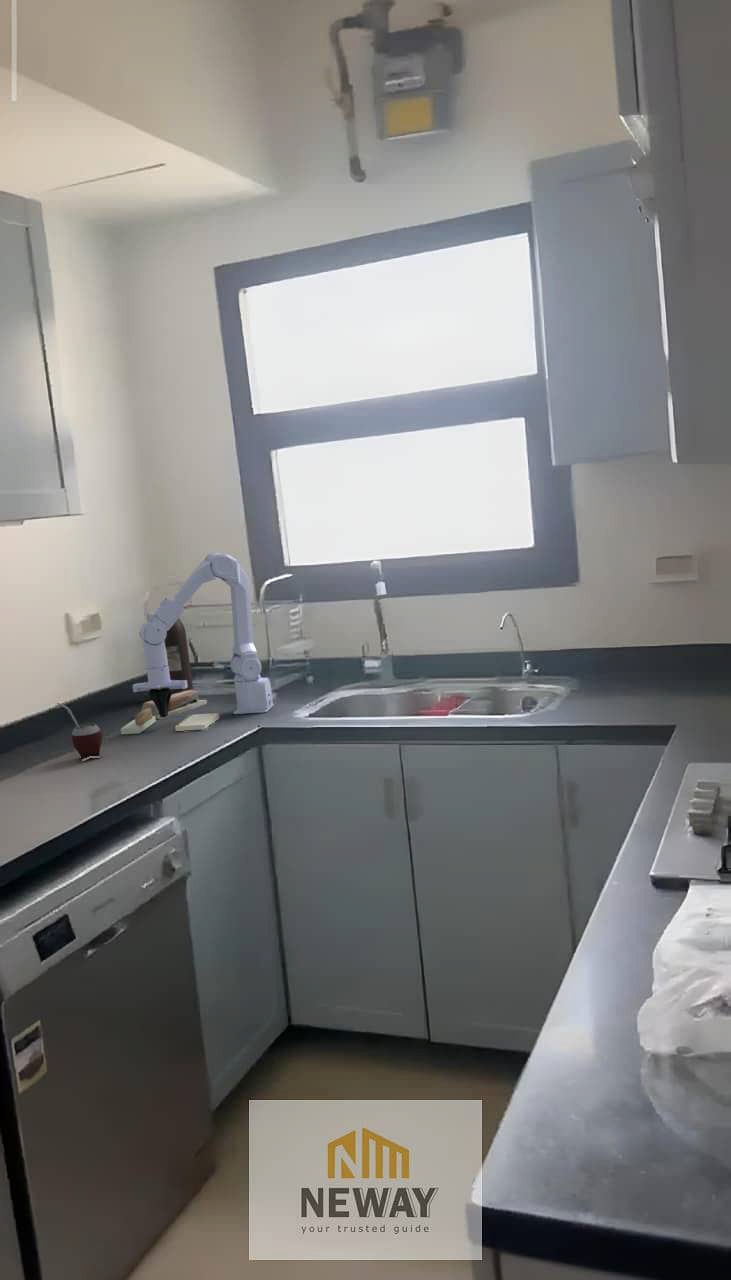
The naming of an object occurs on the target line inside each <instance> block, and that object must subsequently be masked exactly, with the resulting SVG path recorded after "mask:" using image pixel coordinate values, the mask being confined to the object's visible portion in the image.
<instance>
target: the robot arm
mask: <svg viewBox="0 0 731 1280" xmlns="http://www.w3.org/2000/svg"><path fill="white" fill-rule="evenodd" d="M216 578H218V579H220V580H221V581H222V582H224V583H225V584H226V585H228V586H229V587H230V597H231V598H230V599H231V612H232V613H231V615H232V628H233V641H234V642H233V643H234V644H233V647H232V656H231V659H230V662H229V663H230V664H229V666H230V669H231V672H233V673H234V678H233V679H234V680H233V683H234V688H235V689H234V691H235V696H236V697H235V698H236V705H237V709H236V710H235V711H233V714H234V715H242V714H243V715H244V714H260V713H261V714H262V713H267V712H268V711H270V709H272V707H274V705H275V704H274V699H273V692H272V685H271V680H270V679H269V677H261V672H262V663H261V661H260V659H259V658H258V657H259V656H258V651H257V649H256V646H255V644H254V633H253V619H252V617H253V616H252V603H251V587H250V579H249V577H248V575H247V574H246V572H245V571H244V570H243V568H242V566H241V565H240V564H239V561H238V560H237V559H236V558H235V557H233V556H231V555H229V554H228V553H220V552H215V551H214V552H211V553H208V554H207V555H206V556H205V558H204V560H201V561H200V563H198V565H197V566H196V567H195V569H194V570H193V571H192V573H191V574H190V575H189V576H188V578H187V579H186V581H185V582H184V583H183V584H182V586H181V587H180V589H179V590H178V591H177V593H176V594H174V596H173V597H166V598H167V599H166V598H165V599H166V600H165V599H163V600H161V601H160V602H159V607H158V608H157V609H156V611H155V612H154V613H153V614H152V615H151V614H150V615H149V616H148V618H147V619H148V620H147V621H145V622H144V623H142V625H141V627H140V628H139V629H140V630H139V633H138V635H139V637H140V638H141V640H142V643H143V649H144V650H143V653H144V659H145V661H144V662H145V667H146V673H147V681H145V682H140V683H139V682H138V683H134V684H133V685H132V691H133V693H138V692H147V691H149V693H148V696H149V698H150V700H151V701H152V700H153V702H154V703H155V705H156V707H157V709H158V711H159V714H160V717H166V716H168V707H169V702H170V698H171V695H172V692H173V689H181V688H182V689H186V688H187V687H188V685H187V680H170V674H169V667H168V660H167V652H166V648H165V641H164V640H165V638H166V635H167V631H168V630H169V629H170V628H171V627H172V626H173V625H174V623H175V622H176V621H177V620H178V618H179V619H180V617H181V616H182V615H183V614H184V612H185V609H184V606H185V604H186V603H187V602H188V601H189V600H190V599H191V598H192V596H193V595H194V594H195V593H196V592H197V591H198V589H200V588H201V586H203V584H204V583H208V582H212V581H215V580H217V579H216ZM164 600H165V601H164Z"/></svg>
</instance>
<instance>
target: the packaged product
mask: <svg viewBox="0 0 731 1280" xmlns="http://www.w3.org/2000/svg"><path fill="white" fill-rule="evenodd" d="M207 704H208V700H207V699H199V693H198V691H196V690H194V689H193V690H188V691H183V692H179V693H176V694H173V695H171V698H170V702H169V707H168V716H166V717H160V714H159V711H158V709H157V707H156V705H155V703H154V702H153V700H152V699H151V700H149V701H145V702H144V703H143V702H142V708H141V711H143V710H144V709H146V708H151V712H152V716H155V719H156V720H164V719H166V718H170V717H173V716H176V715H178V714H181V713H184V712H188V711H190V710H193V709H197V708H199V707H202V706H205V705H207Z"/></svg>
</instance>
